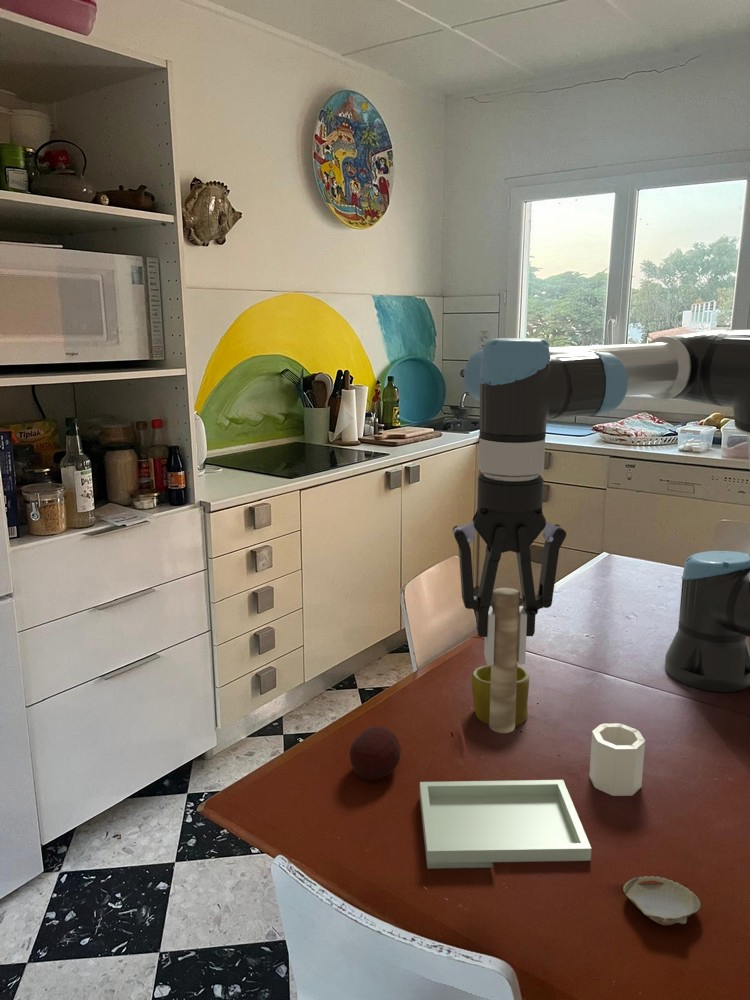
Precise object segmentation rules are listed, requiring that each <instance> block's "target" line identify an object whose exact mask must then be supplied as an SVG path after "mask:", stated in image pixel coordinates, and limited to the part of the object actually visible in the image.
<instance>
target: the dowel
mask: <svg viewBox="0 0 750 1000" xmlns="http://www.w3.org/2000/svg"><path fill="white" fill-rule="evenodd" d="M520 602H521V592H520V590H518V589H515V588H512V587H511V588H510V587H499V588H496V589H493V593H492V609H493V612H494V613H495V634H494V665H491V685H490V719H489V725H488V726H489V729H491V731H493V732H495V733H499V734H508V733H511V732H513V731H515V729H516V726H515V712H516V686H517V666H518V635H519V609H520V606H521V603H520Z"/></svg>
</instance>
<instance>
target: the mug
mask: <svg viewBox="0 0 750 1000" xmlns="http://www.w3.org/2000/svg"><path fill="white" fill-rule="evenodd" d="M490 685H491V665H484V666H479V667H477V668H475V670H474V671H473V672H472V676H471V690H472V697H473V698H472V699H473V709H474V714H475V717H476V718H477V719H478V721H481V722H482V723H484V724H486V725H488V726H489V719H490ZM529 686H530V676H529V674H528V672H527V671H526V670H525V669H524V668H522V667H521V666H518V665H517V686H516V712H515V727H518V726H520V725H522V724H524V723H525V722H526V720H527V718H528V715H529V714H528V713H529V711H528V709H529V708H528V699H529V689H530V688H529Z"/></svg>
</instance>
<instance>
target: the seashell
mask: <svg viewBox="0 0 750 1000" xmlns="http://www.w3.org/2000/svg"><path fill="white" fill-rule="evenodd" d="M649 881H652V882H653V881H655V882H658V883H643V882H649ZM622 890H623V892H624V894H625V896H626V897H627V898H628V900H630V901H631V903H632V904H633V905H634V906H635V907H636V908H637V909H638V910H639V911H641V912H642V913H643V914H644V915H645V916H646V917H648V918H649V919H650V920H651V921H654V922H655V923H657V924H659V925H662V926H671V925H674V924H677V923H678V924H682V925H685V924H687V921H688V918H689V917H692V916H693V915H694V914H696V913H697V912H699V911H700V910H701V907H702V904H701V901H700V899H699V897H698V895H697V894H695V892H694V891H692V890H691V889H689V888H688V887H686V886H685V885H683V884H681V883H679V882H677V881H674V880H672V879H667V878H665V877H661V876H653V875H651V876H650V875H649V876H646V875H644V876H638V877H633V878H632V879H629V880H628V881H626V882H625V884H624V885H623V889H622Z"/></svg>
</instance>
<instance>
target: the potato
mask: <svg viewBox="0 0 750 1000" xmlns="http://www.w3.org/2000/svg"><path fill="white" fill-rule="evenodd" d="M401 748H402V747H401V745H400V742H399V739H398V737H397V736H396V734H395V733H394V732H393V731H392V730H391V729H389V728H387V727H385V726H383V725H374V726H369V727H368V728H366V729H365V730H363V732H361V733H360V734H359V735H358V736H357V737H355V738H354V740H353V741H352V743H351V746H350V750H349V760H350V763H351V766H352V769H353V770H354V772H355V773H356V774H357V775H358V776H359V777H360V778H362V779H365V780H367V781H368V780H369V781H370V780H373V781H374V780H378V779H382V778H384V777H387V776H388V775H390V774H391V773H392V772H393V771H394V770H395V769H396V767H397V765H399V763H400V759H401V753H402V752H401V750H402V749H401Z"/></svg>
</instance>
